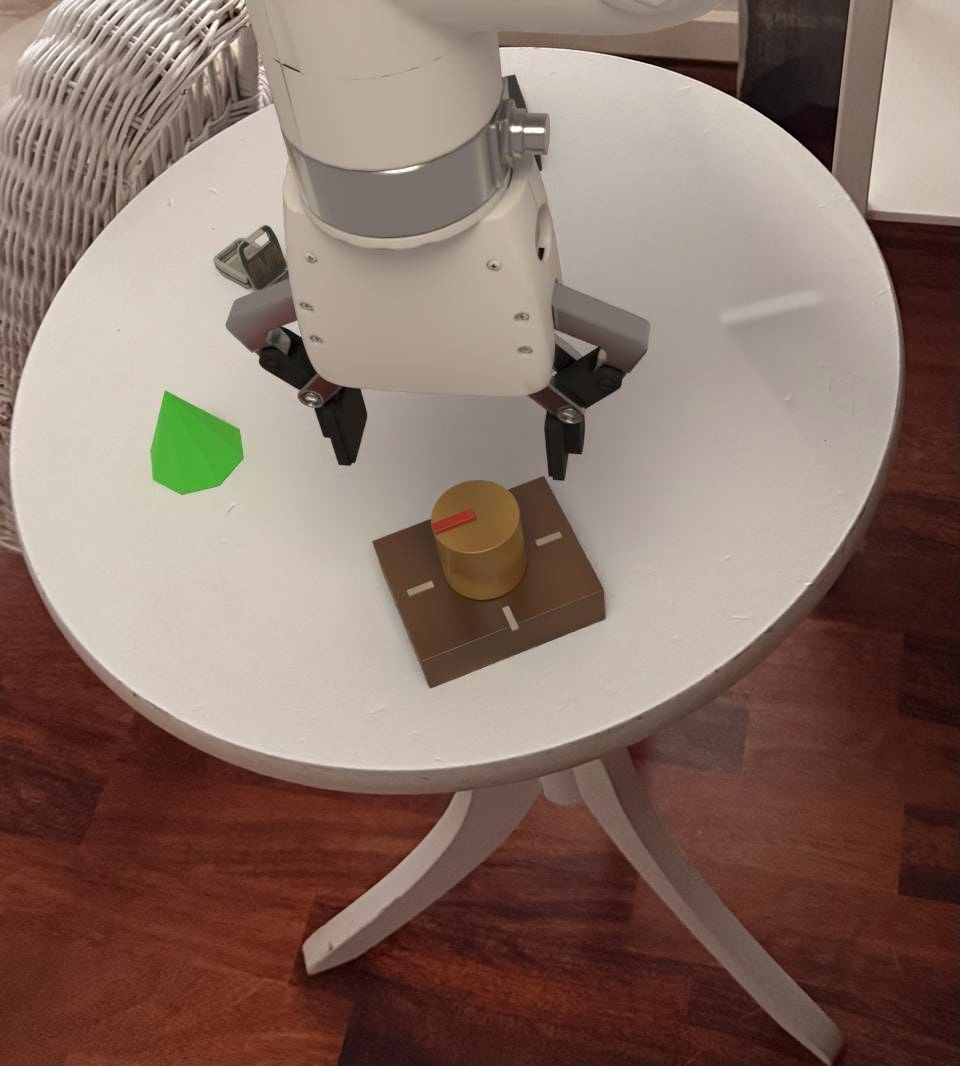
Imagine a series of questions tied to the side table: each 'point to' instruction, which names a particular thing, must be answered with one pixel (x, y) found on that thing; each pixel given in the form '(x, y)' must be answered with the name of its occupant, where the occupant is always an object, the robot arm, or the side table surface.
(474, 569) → the knob
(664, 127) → the side table surface
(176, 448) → the gemstone
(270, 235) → the strap clip
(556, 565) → the panel
